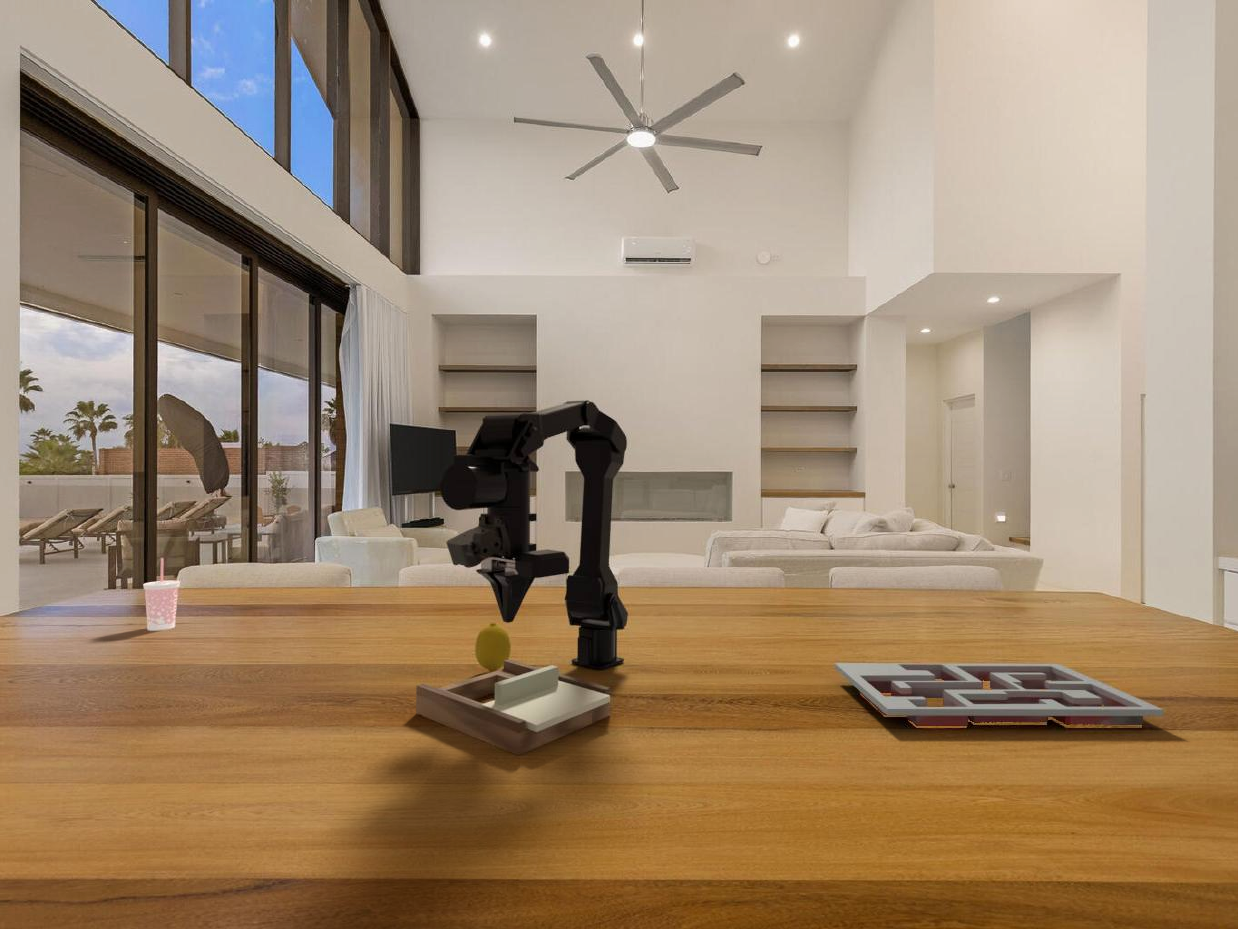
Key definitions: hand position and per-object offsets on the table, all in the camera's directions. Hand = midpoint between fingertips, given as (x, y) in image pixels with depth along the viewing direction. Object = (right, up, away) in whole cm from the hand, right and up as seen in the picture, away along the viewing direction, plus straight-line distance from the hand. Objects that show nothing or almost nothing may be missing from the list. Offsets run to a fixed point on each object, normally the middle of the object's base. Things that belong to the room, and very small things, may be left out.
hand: (508, 621), depth 90 cm
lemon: (-5, -12, +16) cm, 21 cm away
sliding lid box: (+1, -12, -2) cm, 12 cm away
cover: (+6, -9, -6) cm, 12 cm away
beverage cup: (-77, -12, +44) cm, 89 cm away
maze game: (+66, -13, +4) cm, 67 cm away
